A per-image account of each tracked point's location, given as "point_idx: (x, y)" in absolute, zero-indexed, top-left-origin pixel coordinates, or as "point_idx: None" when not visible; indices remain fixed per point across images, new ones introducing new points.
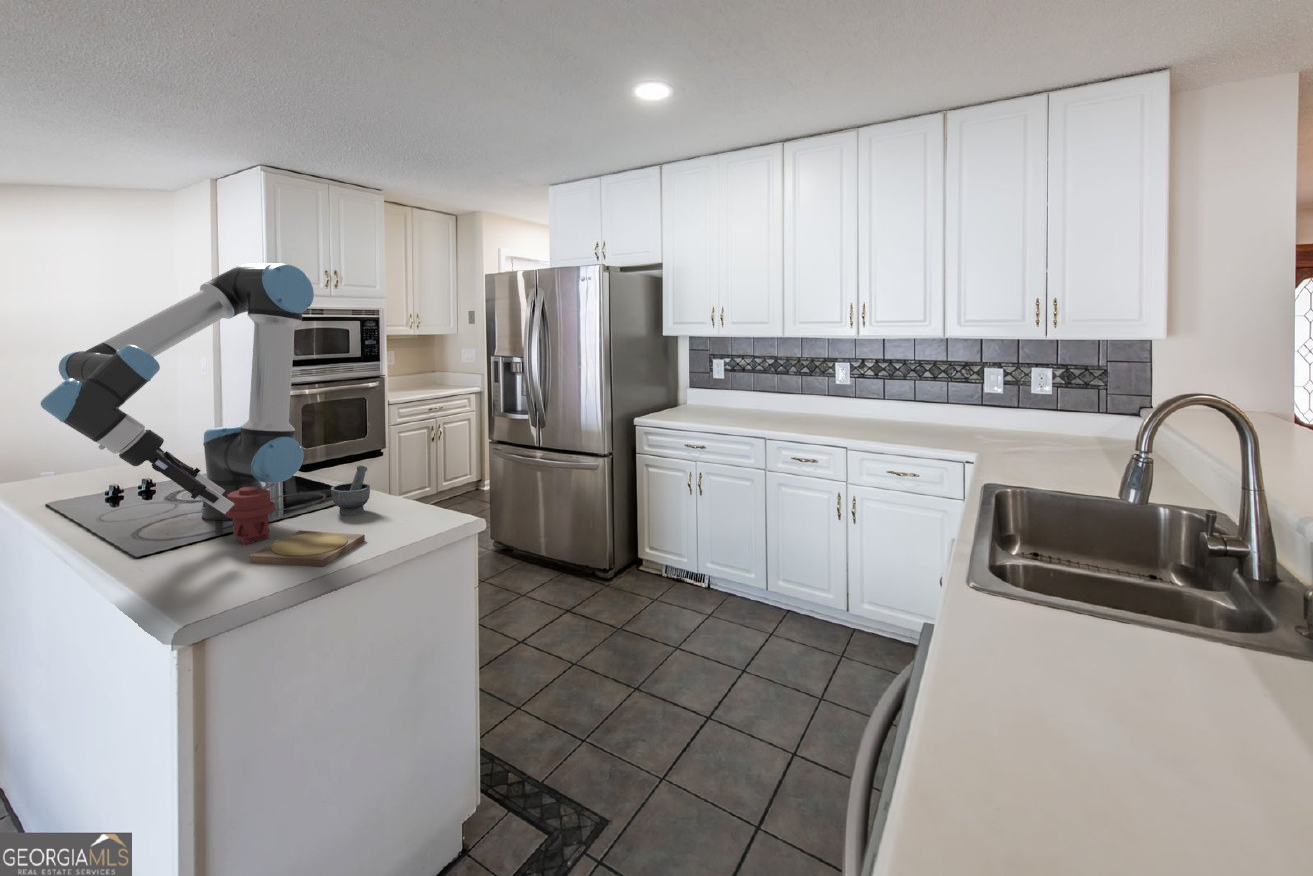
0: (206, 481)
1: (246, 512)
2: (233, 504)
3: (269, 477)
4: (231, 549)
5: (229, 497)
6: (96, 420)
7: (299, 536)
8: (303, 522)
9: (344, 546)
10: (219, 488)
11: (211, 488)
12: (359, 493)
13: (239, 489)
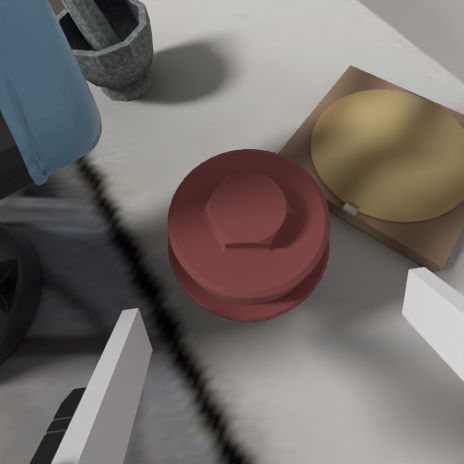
0: (109, 405)
1: (328, 246)
2: (425, 271)
3: (101, 129)
4: (311, 313)
5: (289, 288)
6: None
7: (330, 165)
8: (156, 163)
9: (424, 98)
10: (133, 332)
11: (131, 371)
12: (147, 18)
13: (251, 240)
